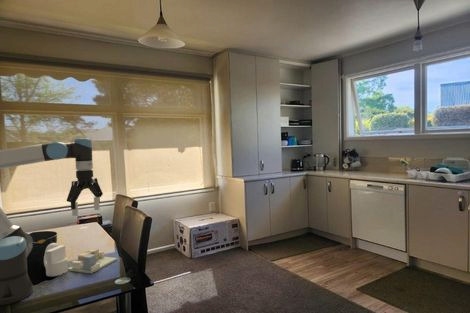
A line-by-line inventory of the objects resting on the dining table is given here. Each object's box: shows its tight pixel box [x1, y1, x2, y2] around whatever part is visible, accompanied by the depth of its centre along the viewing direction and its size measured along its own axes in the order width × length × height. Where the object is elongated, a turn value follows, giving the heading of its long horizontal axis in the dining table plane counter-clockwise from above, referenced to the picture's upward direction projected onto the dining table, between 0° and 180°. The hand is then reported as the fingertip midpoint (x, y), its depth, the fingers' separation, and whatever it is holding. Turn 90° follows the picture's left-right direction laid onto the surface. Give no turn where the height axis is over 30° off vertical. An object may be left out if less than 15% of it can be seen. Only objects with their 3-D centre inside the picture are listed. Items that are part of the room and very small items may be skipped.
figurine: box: [43, 242, 60, 269], centre depth 156 cm, size 7×8×12 cm
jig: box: [67, 250, 118, 274], centre depth 155 cm, size 18×15×4 cm
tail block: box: [83, 254, 96, 270], centre depth 148 cm, size 4×4×6 cm
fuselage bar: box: [77, 248, 100, 263], centre depth 157 cm, size 10×4×5 cm, turn 163°
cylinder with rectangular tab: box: [45, 244, 68, 277], centre depth 147 cm, size 9×9×12 cm
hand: (86, 212), depth 147 cm, fingers open, 13 cm apart
